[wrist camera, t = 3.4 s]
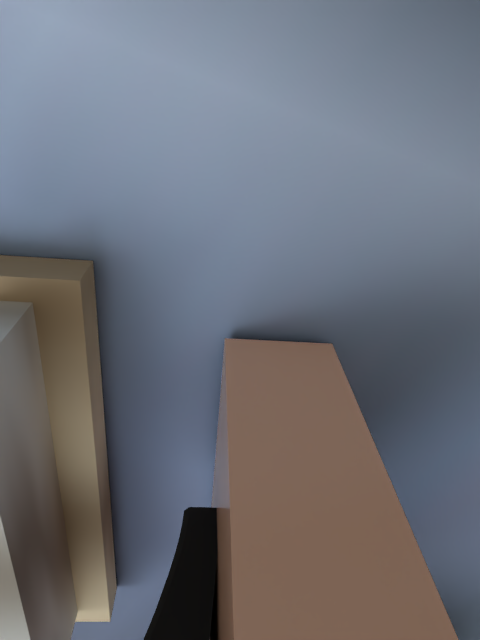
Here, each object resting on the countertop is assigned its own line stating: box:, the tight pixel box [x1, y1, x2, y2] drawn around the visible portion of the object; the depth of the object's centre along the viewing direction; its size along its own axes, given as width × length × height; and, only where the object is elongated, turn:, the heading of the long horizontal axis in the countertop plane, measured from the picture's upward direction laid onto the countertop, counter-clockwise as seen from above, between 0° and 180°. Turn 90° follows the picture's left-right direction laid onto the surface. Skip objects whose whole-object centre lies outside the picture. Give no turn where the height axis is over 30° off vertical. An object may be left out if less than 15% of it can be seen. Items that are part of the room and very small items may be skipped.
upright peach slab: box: [210, 338, 458, 640], centre depth 9 cm, size 8×2×7 cm, turn 175°
